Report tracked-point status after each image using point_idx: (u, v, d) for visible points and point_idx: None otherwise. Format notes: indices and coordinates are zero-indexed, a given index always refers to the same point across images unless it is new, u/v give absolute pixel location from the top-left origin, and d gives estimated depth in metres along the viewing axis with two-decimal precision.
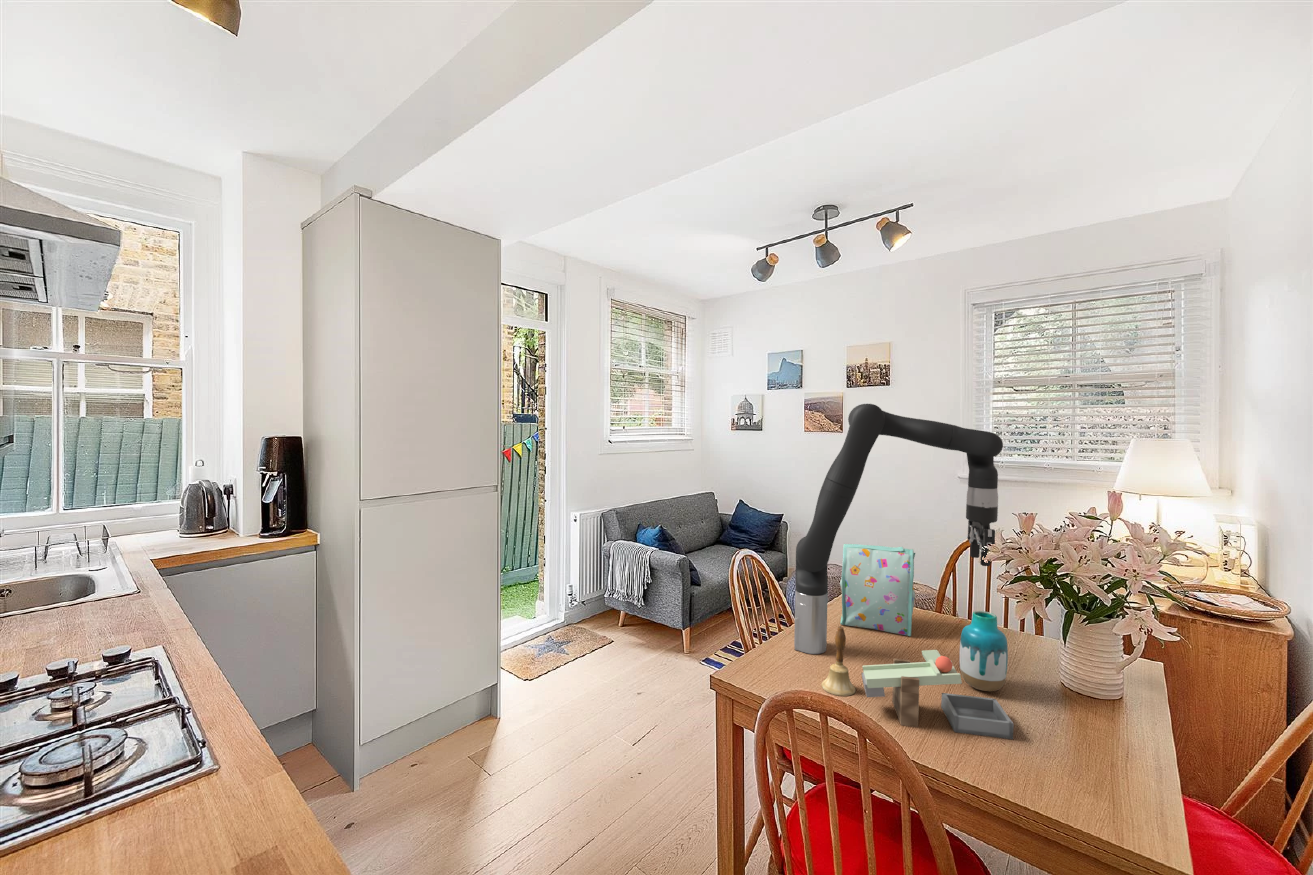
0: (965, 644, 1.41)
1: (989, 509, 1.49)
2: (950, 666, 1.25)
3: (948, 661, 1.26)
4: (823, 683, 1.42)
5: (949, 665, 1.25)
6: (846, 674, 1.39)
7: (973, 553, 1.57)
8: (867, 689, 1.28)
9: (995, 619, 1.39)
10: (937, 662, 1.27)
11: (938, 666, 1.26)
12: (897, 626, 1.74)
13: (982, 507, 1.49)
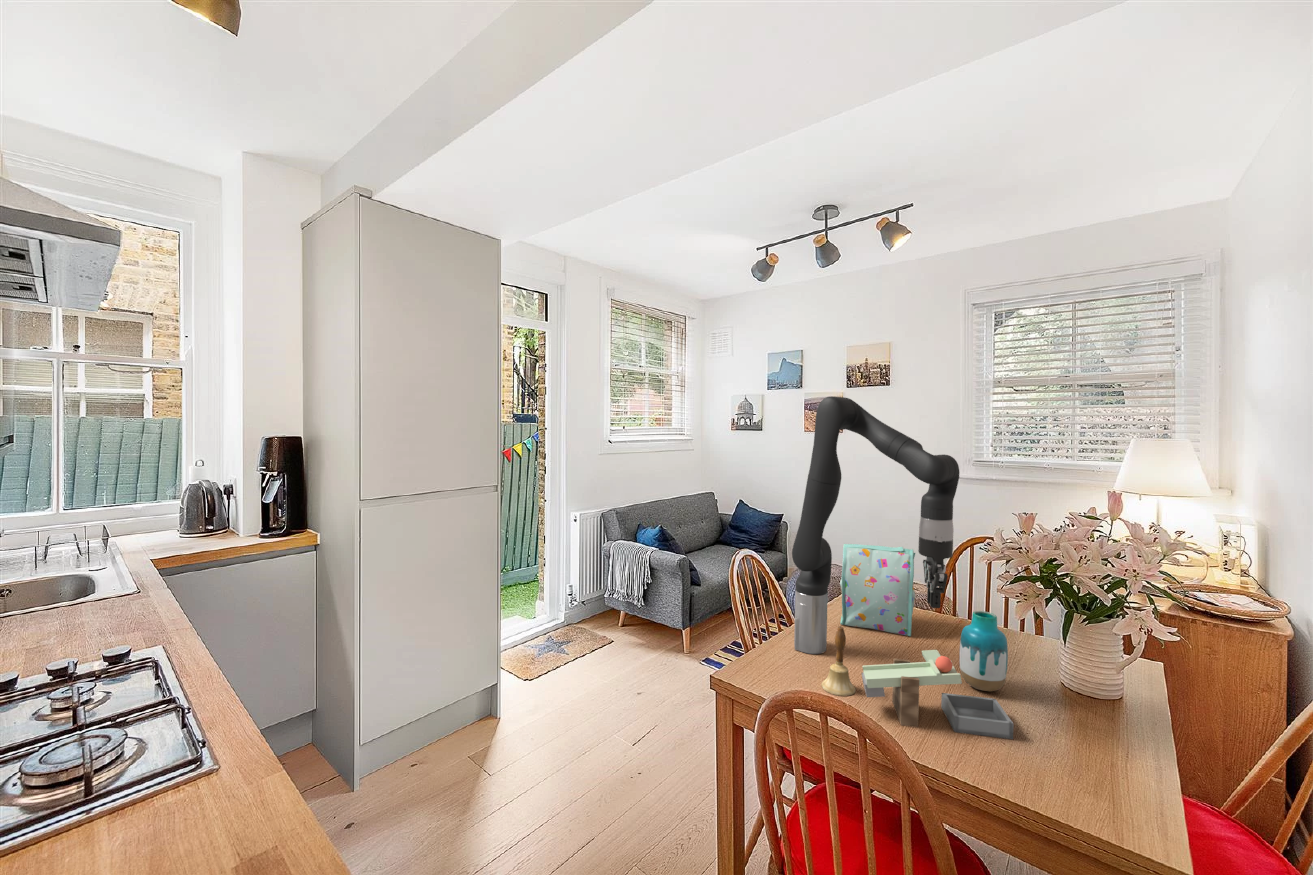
0: (965, 644, 1.41)
1: (943, 543, 1.32)
2: (950, 666, 1.25)
3: (948, 661, 1.26)
4: (823, 683, 1.42)
5: (949, 665, 1.25)
6: (846, 674, 1.39)
7: None
8: (867, 689, 1.28)
9: (995, 619, 1.39)
10: (937, 662, 1.27)
11: (938, 666, 1.26)
12: (897, 626, 1.74)
13: (935, 541, 1.32)
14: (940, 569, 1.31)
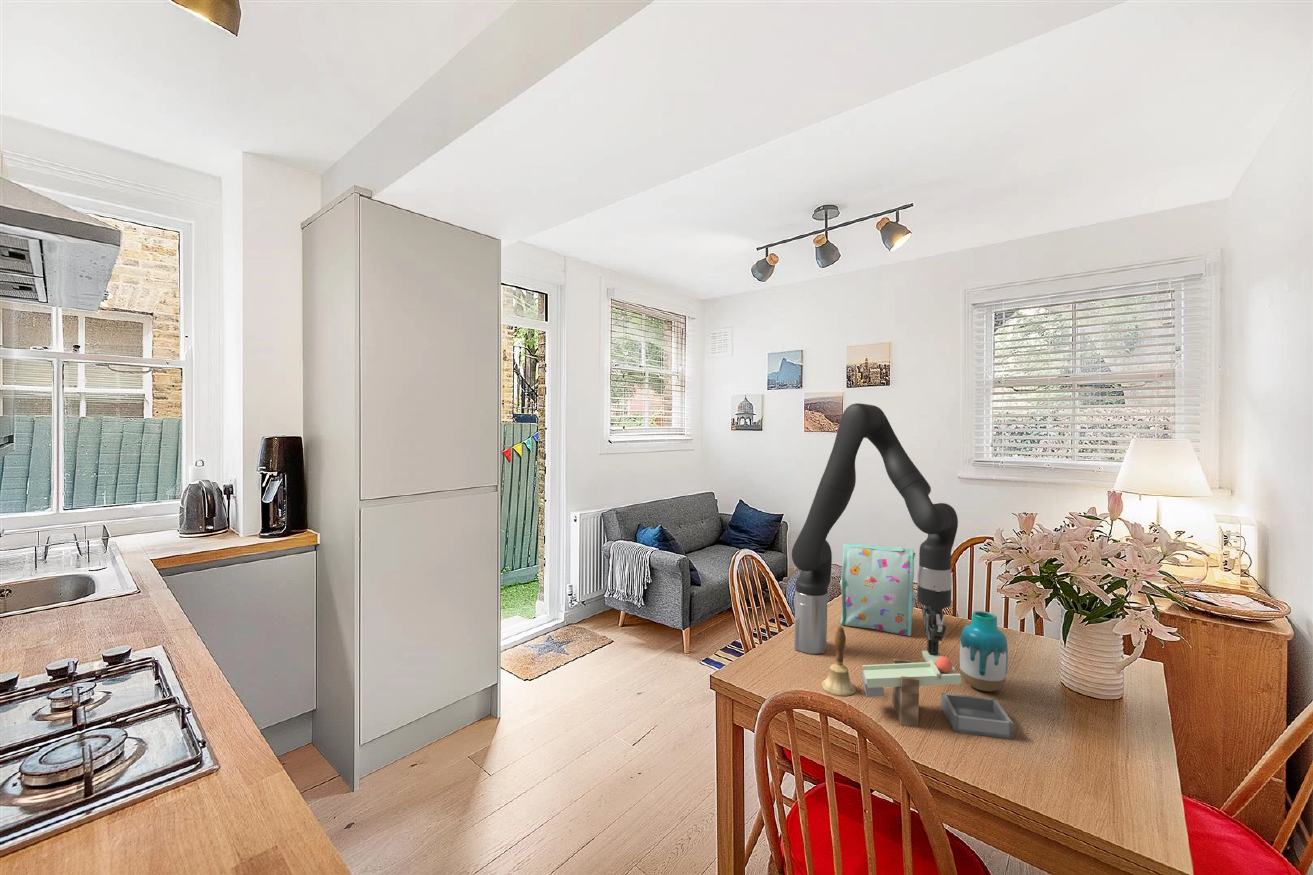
0: (965, 644, 1.41)
1: (941, 593, 1.32)
2: (950, 666, 1.25)
3: (948, 661, 1.26)
4: (823, 683, 1.42)
5: (949, 665, 1.25)
6: (846, 674, 1.39)
7: None
8: (867, 689, 1.28)
9: (995, 619, 1.39)
10: (937, 662, 1.27)
11: (938, 666, 1.26)
12: (897, 626, 1.74)
13: (933, 590, 1.33)
14: (939, 620, 1.32)
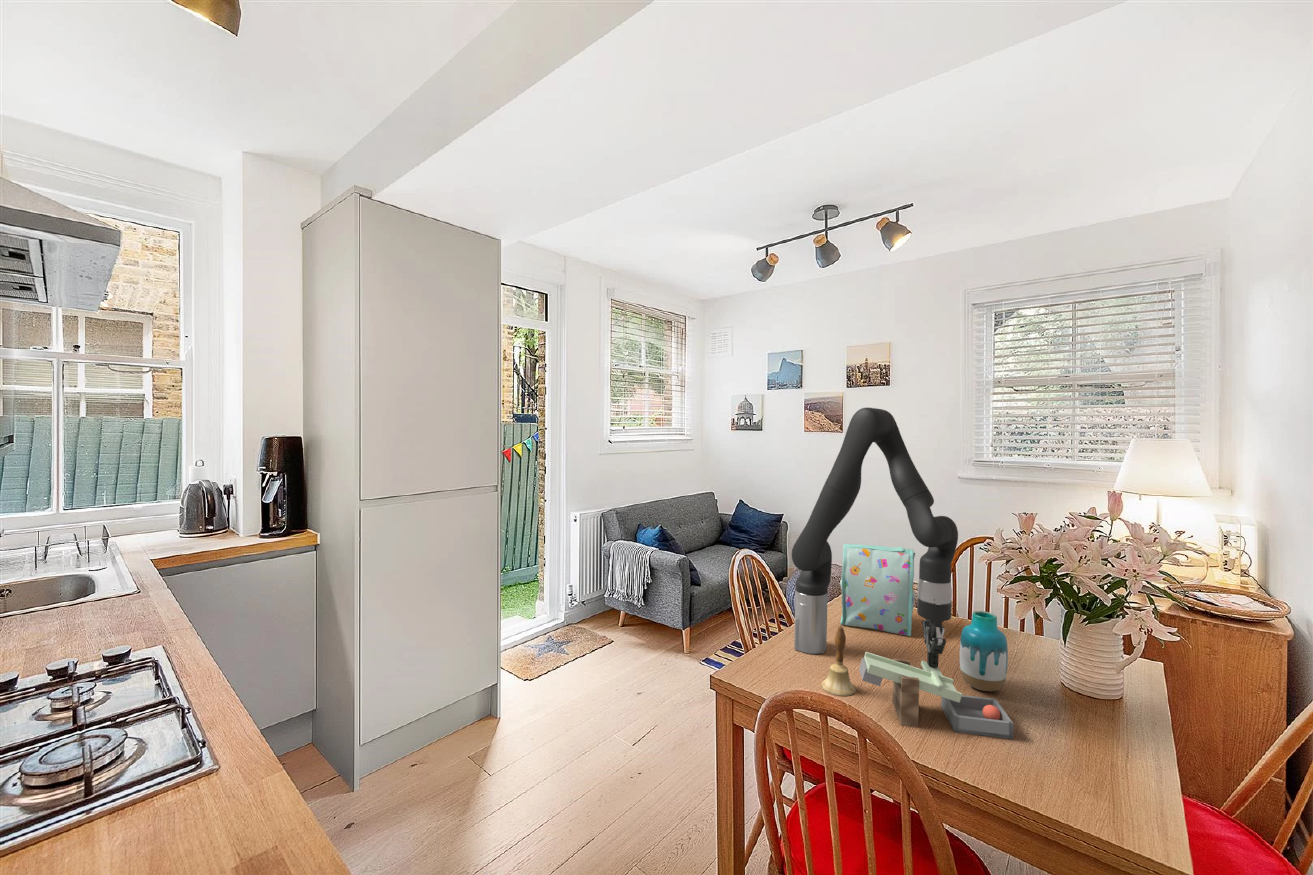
0: (965, 644, 1.41)
1: (941, 606, 1.32)
2: (998, 716, 1.24)
3: (996, 711, 1.24)
4: (823, 683, 1.42)
5: (997, 714, 1.24)
6: (846, 674, 1.39)
7: None
8: (866, 673, 1.28)
9: (995, 619, 1.39)
10: (985, 711, 1.25)
11: (986, 715, 1.25)
12: (897, 626, 1.74)
13: (933, 604, 1.33)
14: (939, 633, 1.32)
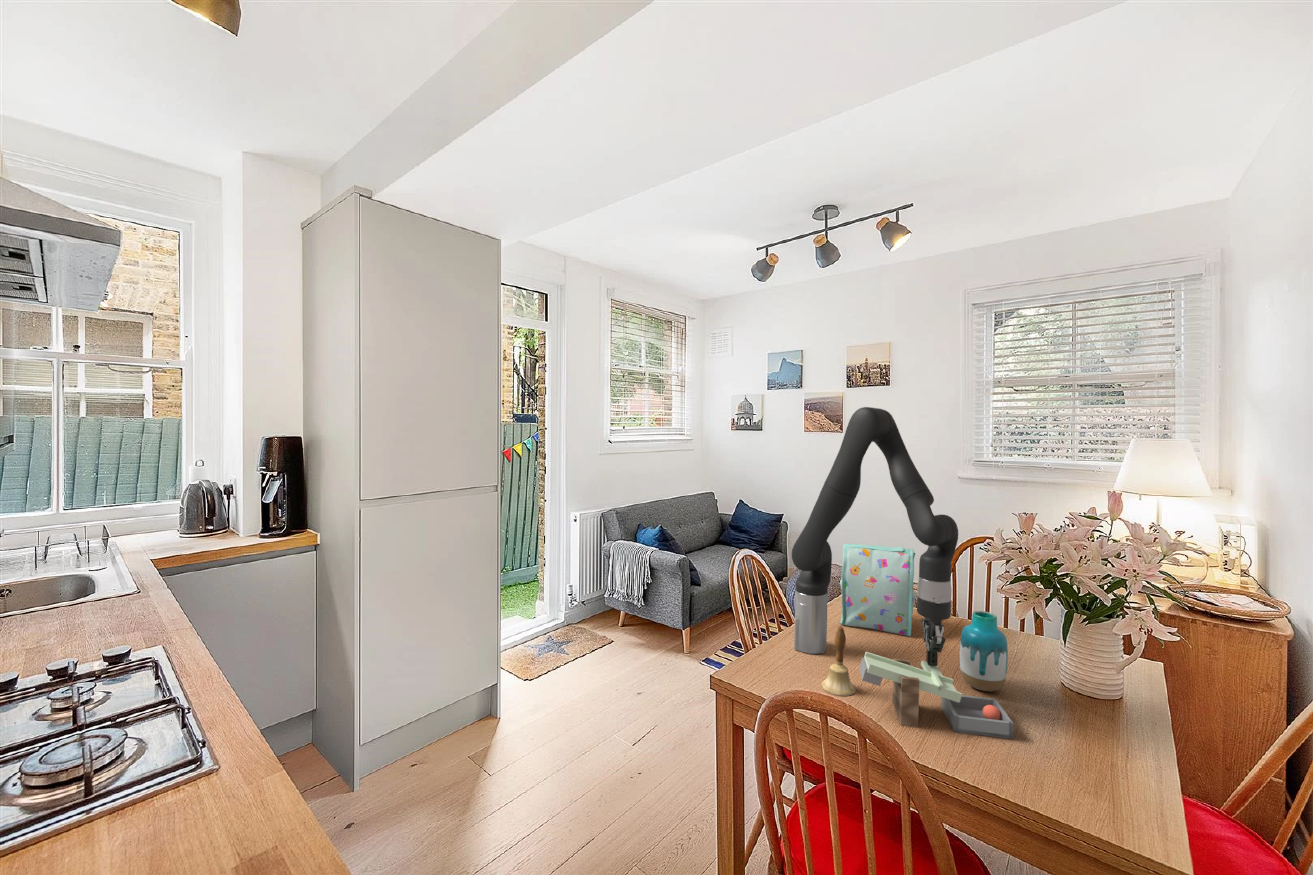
0: (965, 644, 1.41)
1: (941, 605, 1.32)
2: (998, 716, 1.24)
3: (996, 711, 1.24)
4: (823, 683, 1.42)
5: (997, 714, 1.24)
6: (846, 674, 1.39)
7: None
8: (866, 673, 1.28)
9: (995, 619, 1.39)
10: (985, 711, 1.25)
11: (986, 715, 1.25)
12: (897, 626, 1.74)
13: (933, 602, 1.33)
14: (938, 632, 1.32)
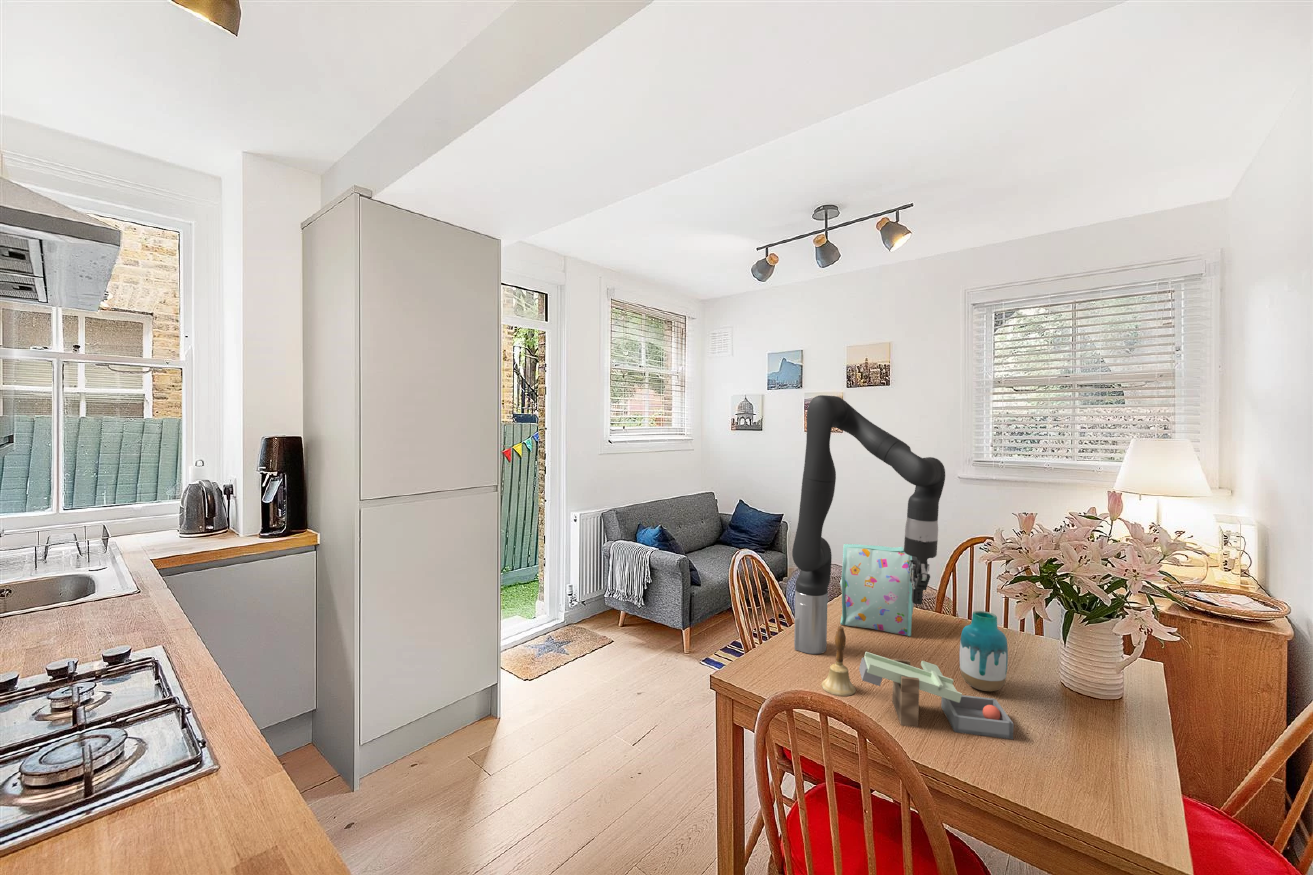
0: (965, 644, 1.41)
1: (927, 543, 1.36)
2: (998, 716, 1.24)
3: (996, 711, 1.24)
4: (823, 683, 1.42)
5: (997, 714, 1.24)
6: (846, 674, 1.39)
7: None
8: (866, 673, 1.28)
9: (995, 619, 1.39)
10: (985, 711, 1.25)
11: (986, 715, 1.25)
12: (897, 626, 1.74)
13: (919, 541, 1.36)
14: (923, 569, 1.36)
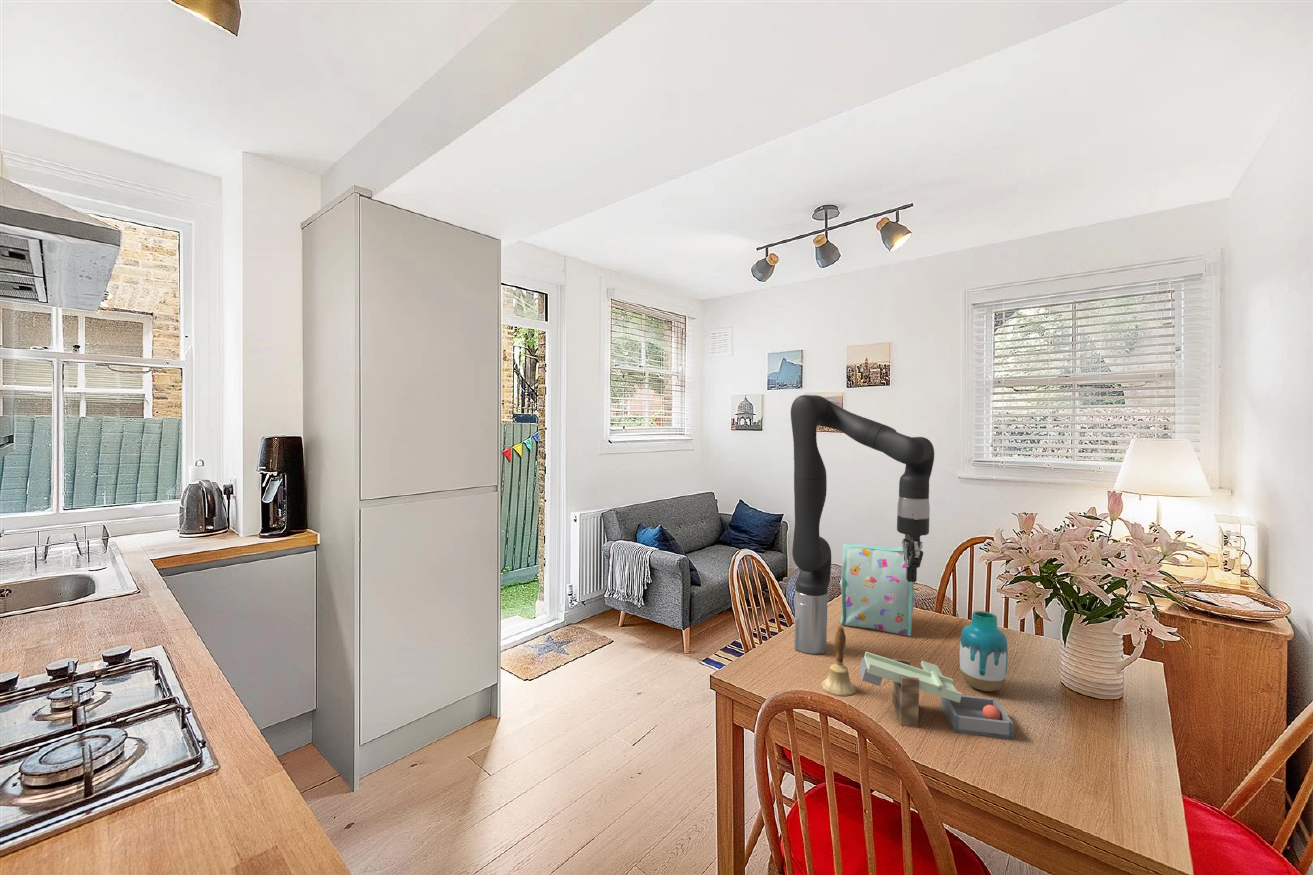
0: (965, 644, 1.41)
1: (919, 521, 1.38)
2: (998, 716, 1.24)
3: (996, 711, 1.24)
4: (823, 683, 1.42)
5: (997, 714, 1.24)
6: (846, 674, 1.39)
7: None
8: (866, 673, 1.28)
9: (995, 619, 1.39)
10: (985, 711, 1.25)
11: (986, 715, 1.25)
12: (897, 626, 1.74)
13: (912, 519, 1.39)
14: (916, 546, 1.38)
